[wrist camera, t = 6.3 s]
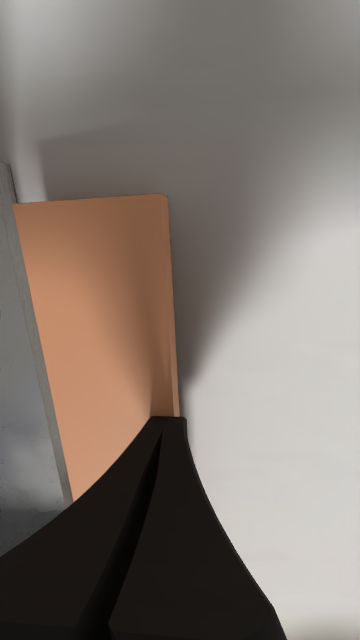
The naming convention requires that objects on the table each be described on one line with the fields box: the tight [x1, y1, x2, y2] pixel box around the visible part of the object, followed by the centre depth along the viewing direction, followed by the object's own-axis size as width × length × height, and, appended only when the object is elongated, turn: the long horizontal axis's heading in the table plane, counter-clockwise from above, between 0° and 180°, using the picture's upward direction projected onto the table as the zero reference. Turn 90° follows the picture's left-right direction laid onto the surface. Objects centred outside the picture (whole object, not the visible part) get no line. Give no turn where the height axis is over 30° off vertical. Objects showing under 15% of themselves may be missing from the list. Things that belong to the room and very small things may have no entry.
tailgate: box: [12, 193, 180, 501], centre depth 12 cm, size 17×1×5 cm
